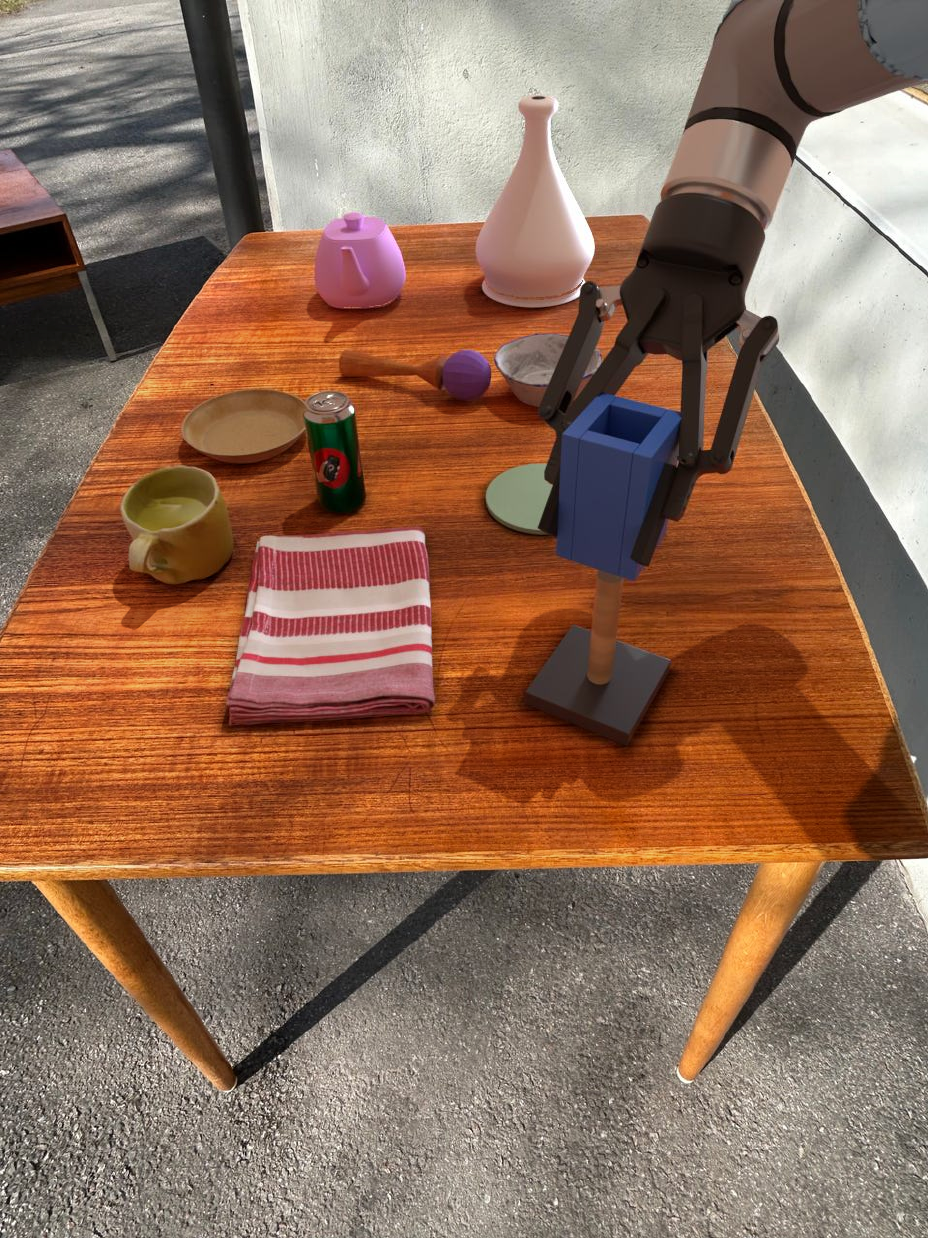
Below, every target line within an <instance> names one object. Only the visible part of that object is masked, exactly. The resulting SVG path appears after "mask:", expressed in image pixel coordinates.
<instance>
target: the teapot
mask: <svg viewBox="0 0 928 1238" xmlns="http://www.w3.org/2000/svg"><path fill="white" fill-rule="evenodd" d="M315 254H316V255H315V259H314V270H313V271H314V285H315V286H314V287H315V289H316V291H317V292H318V295H319V296H320V297H321V299H322V300H323V301H324V302H325V303H326V304H327V305H328V306H330V307H332V308H335V309H345V310H359V309H361V310H362V309H363V310H364V309H375V308H384V307H386V306H387V305H390V304H392V303H393V302H394V301H395V300H396V299H397V298H398V296H399V295H400V293H401V291H402V289H403V288H404V285H405V282H406V279H407V275H406V273H407V272H406V267H405V263H404V259H403V256H402V255H403V254H402V252H401V249H400V247H399V245H398V243H397V241H396V239H395V237H394V234H393V233H392V231H391V230H390V228H389V226H388V225H387V224H386V221H384V220H383V219H381V218H379V217H376V216H366V215H365V214H363V213H361V212H357V211H355V212H353V211H352V212H348V213H346V214H344V215H343V217H341V218H340V217H339V218H336V219H333V220H332V221H330V222H329V223H328V224H327V225H326V226H325V227H324V229H323V231H322V234H321V236H320V240H319V243H318V246H317V250H316V253H315ZM397 295H398V296H397ZM393 299H394V300H393ZM391 300H393V301H392V302H390V303H388V302H389V301H391ZM385 303H388V304H385ZM382 304H385V305H382ZM375 305H381V306H375ZM369 306H374V307H369ZM344 307H351V308H344ZM352 307H361V308H352Z"/></svg>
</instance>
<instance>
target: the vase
mask: <svg viewBox="0 0 928 1238" xmlns="http://www.w3.org/2000/svg"><path fill="white" fill-rule="evenodd" d="M517 106H518V107H517V109H518V112H519V113H520V114H521V115H522V116H523V117H524V135H523V136H524V137H523V142H522V146H521V151H520V154H519V156H518V158H517V161H516V164H515V165H514V168H513V169H512V172H511V174H510V175H509V177H508V180H507V181H506V183H505V185H504V187H503V189H502V190H501V192H500V194H499V196H498V198H497V200H496V201H495V203H494V205H493V207H492V209H491V210H490V212H489V214H488V216H487V218H486V220H485V221H484V223H483V226H482V227H481V229H480V231H479V234H478V236H477V239H476V243H475V247H474V248H475V249H474V250H475V251H474V252H475V258H476V260H477V264H478V265H479V267H480V269H481V271H482V273H483V276H484V280H483V281H482V284H481V289H482V291H483V293H484V295H486V296H487V297H488V298H490V299H492V300H493V301H496V302H498V303H501V304H504V305H507V306H512V307H520V308H546V307H548V308H549V307H553V306H559V305H563V304H567V303H569V302H571V301H573V300H576V299H577V298H579V297H580V289H581V286H582V285H583V284H584V283H585V282H586V281H585V279H584V276H585V274H586V272H587V270H588V269H589V267H590V265H591V263H592V261H593V258H594V255H595V239H594V237H593V234H592V231H591V229H590V227H589V225H588V223H587V222H588V221H587V220H586V219H585V216H584V215H583V213H582V210H581V208H580V206H579V205H578V202H577V201H576V199H575V196H574V195H573V193H572V190H571V189H570V188H569V185H568V183H567V181H566V179H565V177H564V174H563V173H562V170H561V168H560V166H559V163H558V162H557V161H558V160H557V159H556V155H555V152H554V149H553V143H552V134H551V120H552V117H553V116H554V114H555V113H556V112H557V111H558V109H559V101H558V100H557V99H556V98H555V97H553V96H550V95H547V94H533V95H532V94H531V95H527V96H525V97H523V98H521V99H520V100H519V102H518V105H517ZM485 280H486V282H487V284H488V285H489V286H490V287H491V288H493V289H494V290H496V291H498V292H501V293H503V294H506V295H513V296H518V297H535V298H536V297H546V296H548V297H549V296H553V295H561V294H563V293H566V292H568V291H570V290H573V289H574V288H576V287H577V286H578V285H579V284H580V283H581V282H582V280H583V282H582V284H581V286H580V287H579V288H578V289H577V290H575V291H574V292H572V293H570V294H567V295H564V296H561V297H557V298H552V299H544V300H523V299H515V298H510V297H506V296H503V295H500V294H497V293H495V292H494V291H492V290H491V289H490V288H489V287H488V286H487V285H486V282H485Z"/></svg>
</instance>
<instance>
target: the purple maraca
mask: <svg viewBox="0 0 928 1238" xmlns="http://www.w3.org/2000/svg"><path fill="white" fill-rule="evenodd" d="M338 368H339V373H340V374H341V376H342V377H345V378H347V377H348V378H351V377H390V376H391V377H392V376H394V377H395V376H398V377H399V376H417V377H419V378H420V379H421V380H423V381H425V382H426V383H428V384H429V385H431V386H432V387H434V388H435V389H437V390H438V391H444V390H446V391H447V394H449V395H450V396H452V397H454V398H455V399H456V400H458V401H462V402H463V401H464V402H470V401H473V400H476V399H480V398H481V397H483V396H484V394H485V393H486V392H487V391H488V390H489V389H490V385H491V381H492V367H491V365H490V363H489V361H488V360H487V359H486V357H485V356H484V355H483V354H481V353H479V352H478V351H476V350H471V349H461V350H459V351H457V352H453V353H452V354H451V355H450V357H447V356H446V355H445V354H444V355H440V356H438V357H436V358H433V359H430V360H428V361H426V362H423V363H421V364H419V365H414V364H411V363H406V362H401V361H397V360H393V359H388V358H385V357H379V356H376V355H371V354H370V355H369V354H367V353H362V352H358V351H354V350H348V349H344V350H343V351H342V352H341V354H340V356H339V360H338Z"/></svg>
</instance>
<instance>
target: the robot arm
mask: <svg viewBox="0 0 928 1238" xmlns="http://www.w3.org/2000/svg"><path fill="white" fill-rule="evenodd" d="M711 45H712V46H711V49H710V51H709V55H708V57H707V60H706V63H705V65H704V70H703V72H702V75H701V78H700V81H699V84H698V87H697V90H696V93H695V96H694V99H693V101H692V104H691V106H690V109H689V110H690V111H689V113H688V116H687V119H686V122H685V125H684V129H683V132H682V134H681V136H680V139H679V141H678V144H677V147H676V149H675V153H674V156H673V158H672V161H671V163H670V166H669V169H668V171H667V174H666V176H665V179H664V182H663V185H662V188H661V191H660V200H661V201H659V202H658V203H657V204H656V205H655V209H654V211H653V213H652V215H651V219H650V222H649V224H648V227H647V230H646V233H645V235H644V239H643V241H642V244H641V247H640V250H639V252H638V256H637V259H636V263H635V266H634V268H633V269H632V271H631V272H630V273H629V274H628V275H627V276H626V277H625V278H624V279H623V281H622V282H621V283H620V284H617V285H606V286H598V285H597V283H596V282H595V281H593V280H587V281H585V283H584V284H583V285H582V286H581V289H580V296H579V297H578V312H577V313H578V314H577V315H576V318H575V321H574V323H573V325H572V328H571V330H570V332H569V335H568V336H569V337H568V340H567V342H566V344H565V347H564V349H563V351H562V354H561V356H560V358H559V361H558V363H557V365H556V368H555V370H554V373H553V375H552V377H551V380H550V382H549V384H548V387H547V389H546V391H545V394H544V396H543V398H542V401H541V403H540V406H539V407H537V415H538V417H539V418H540V419H541V420H542V421H543V422H544V423H545V424H546V425H547V426H548V427H549V428H550V429H552V430H553V431H554V432H555V441H554V443H553V446H552V449H551V452H550V455H549V457H548V459H547V462H546V464H547V465H546V468H545V471H544V480H546V481H547V482H548V483H550V484H552V485H553V486H552V489H551V492H550V494H549V497H548V500H547V503H546V506H545V508H544V511H543V514H542V517H541V519H540V522H539V525H538V529H540V530H541V531H543V532H545V533H546V534H548V536H550V537H554V538H557V525H558V506H559V487H560V467H561V448H562V434H563V433H564V431H565V430H566V429H567V428H568V427H569V426H570V425H571V424H572V423H573V422H574V421H575V420H576V418H577V417H578V416H579V415H580V414H581V413H582V412H583V411H584V410H585V409H586V408H587V406H588V405H589V404H590V403H591V402H592V401H593V400H594V399H595V398H596V397H598V396H600V395H601V394H603V393H606V394H610V395H614V396H617V393H618V392H619V390H620V389H621V388H622V387H623V385H624V383H625V382H626V381H627V379H628V378H629V377H630V376H631V374H632V372H633V371H634V370H635V368H636V367H638V366H640V365H641V364H642V363H643V362H644V360H645V359H647V356H649V354H651V355H655V356H657V355H668V356H670V357H672V358H674V359H675V360H677V361H681V366H682V367H681V369H682V370H681V389H680V410H679V412H680V417H681V422H680V434H679V455H678V456H677V460H678V462H677V467H676V466H675V465H672V464H668V463H665V464H664V467H663V469H662V472H661V475H660V478H659V480H658V483H657V486H656V489H655V491H654V494H653V497H652V500H651V502H650V505H649V508H648V511H647V513H646V516H645V519H644V522H643V524H642V526H641V529H640V531H639V534H638V537H637V540H636V542H635V545H634V548H633V551H632V553H631V556H630V558H631V559H632V560H634V561H635V562H636V563H638V564H640V565H644V567H647V568H649V567H650V565H651V561H652V559H653V556H654V553H655V551H656V550H655V548H656V545H657V542H658V540H659V537H660V534H661V531H662V529H663V526H664V523H665V520H666V519H668V520H669V521H674V522H676V523H678V522H680V521H681V519H682V518H683V517H685V516H684V515H685V512H686V510H687V507H688V505H689V502H690V499H691V496H692V494H693V491H694V488H695V486H696V482H697V481H698V479H699V478H700V477H702V476H703V475H707V474H719V475H726V474H728V473H729V472H730V471H731V470H732V468H733V465H734V461H735V459H736V454H737V452H738V448H739V445H740V441H741V438H742V435H743V431H744V428H745V424H746V421H747V417H748V414H749V411H750V409H751V405H752V404H751V403H752V401H753V397H754V393H755V391H756V388H757V383H758V380H759V376H760V373H761V371H762V366H763V365H764V364H765V363H766V361H767V359H768V358H769V357H770V355H771V354H772V353H773V351H774V350H775V348H777V345H778V344H779V342H780V332H779V331H780V330H779V323H778V320H777V318H775V316H773V315H765V316H763V317H761V316H759V315H757V314H755V313H754V312H752V311H749V310H748V309H747V306H746V294H747V290H748V288H749V285H750V282H751V280H752V277H753V274H754V271H755V269H756V266H757V263H758V261H759V257H760V255H761V253H762V249H763V246H764V244H765V241H766V232H765V231H766V230H767V229H769V227H770V225H771V224H772V222H773V219H774V216H775V214H776V212H777V208H778V205H779V202H780V200H781V197H782V195H783V192H784V188H785V186H786V183H787V180H788V178H789V176H790V172H791V169H792V167H793V164H794V162H795V159H796V156H797V152H798V149H799V146H800V144H801V143H802V142H801V141H802V140H803V136H804V134H805V131H806V130H807V128H808V126H809V125H810V124H811V123H813V122H815V121H818V120H820V119H823V118H826V117H831V116H833V115H835V114H839V113H841V112H844V111H845V110H847V109H851V108H853V107H855V106H859V105H861V104H864V103H867V102H870V101H873V100H875V99H879V98H881V97H885V96H887V95H889V94H892V93H896V92H899V91H903V90H906V89H910V88H912V87H917V86H922V85H925V84H928V0H730V2H729V5H728V7H727V10H726V11H725V12H724V14H723V16H722V20H721V22H719V23H718V25H717V29H716V32H715V34H714V36H713V41H712V44H711ZM620 306H622V308H623V311H624V314H625V317H626V318H625V319H626V321H627V322H626V323H625V324H624V326H623V327H622V329H621V330H620V331H619V332H618V334H617V335H616V338H615V339H614V340H615V341H614V344H613V346H612V347H611V349H610V350H609V352H608V353H607V355H606V356H605V358H604V359H602V362H601V365H600V366H599V367H598V369H597V370H596V372H595V373H594V374H593V376H592V377H591V379H590V380H589V381H588V383H587V384H586V386H585V387H584V388H583V390H582V391H581V393H580V394H579V395H578V397H577V398H576V399H575V400H574V397H575V395H576V393H577V390H578V388H579V386H580V383H581V381H582V379H583V376H584V374H585V372H586V369H587V367H588V365H589V362H590V360H591V358H592V355H593V353H594V351H595V348H596V349H597V345H598V344H599V341H600V339H601V336H602V334H603V330H604V325H605V324H604V323H605V322H608V321H610V320H611V318H612V317H613V315H614V312H615V310H616V309H617V308H618V307H620ZM737 329H738V330H739V334H738V338H737V340H738V345H739V348H740V350H739V353H738V356H737V358H736V362H735V366H734V369H733V372H732V376H731V380H730V383H729V386H728V390H727V393H726V396H725V400H724V403H723V406H722V410H721V414H720V417H719V420H718V424H717V427H716V430H715V433H714V438H713V441H712V444H711V446H710V447H711V448H710V449H704V439H705V438H704V437H705V411H706V389H707V377H708V364H709V350H710V349H712V348H713V347H714V346H716V345H717V344H718V343H719V342H721V341H722V340H723V339H725V338H726V337H727V336H729V335H730V334H731V333H733V332H734V331H735V330H737ZM573 400H574V401H573ZM656 549H657V548H656Z"/></svg>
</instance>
